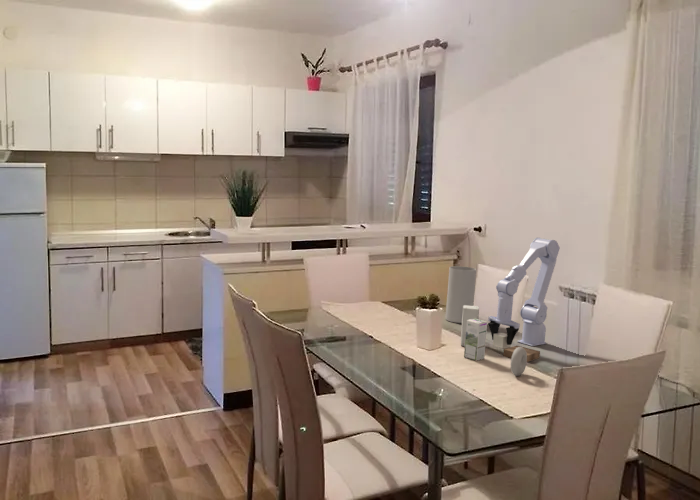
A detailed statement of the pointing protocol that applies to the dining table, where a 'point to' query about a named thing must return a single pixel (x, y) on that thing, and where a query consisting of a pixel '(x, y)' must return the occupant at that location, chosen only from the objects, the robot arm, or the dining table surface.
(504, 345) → the cube
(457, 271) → the cylinder vase
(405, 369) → the dining table surface
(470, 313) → the skincare box
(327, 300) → the dining table surface
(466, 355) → the syrup box
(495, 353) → the dining table surface
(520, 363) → the donut
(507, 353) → the slab
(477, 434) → the dining table surface
